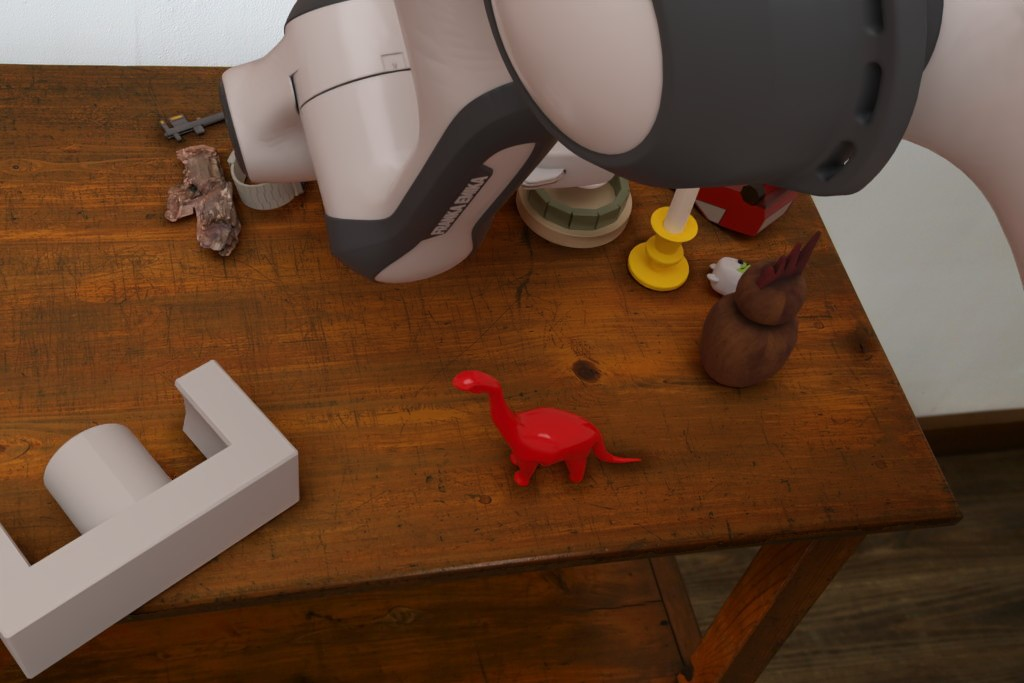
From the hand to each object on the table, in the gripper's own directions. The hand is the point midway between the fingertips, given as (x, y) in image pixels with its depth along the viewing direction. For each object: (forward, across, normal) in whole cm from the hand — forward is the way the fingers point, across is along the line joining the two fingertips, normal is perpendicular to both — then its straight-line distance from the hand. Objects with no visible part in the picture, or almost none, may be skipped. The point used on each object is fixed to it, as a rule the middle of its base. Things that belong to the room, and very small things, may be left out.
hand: (619, 63), depth 79 cm
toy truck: (+12, -3, +10) cm, 16 cm away
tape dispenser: (-42, -19, +15) cm, 48 cm away
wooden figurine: (+4, -20, +15) cm, 25 cm away
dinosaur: (-15, -23, +15) cm, 31 cm away
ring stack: (-1, 0, +15) cm, 15 cm away
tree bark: (-33, +9, +13) cm, 36 cm away
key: (-26, +20, +15) cm, 36 cm away
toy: (+15, -23, +13) cm, 31 cm away
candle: (+3, -9, +15) cm, 18 cm away
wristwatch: (-25, +10, +15) cm, 31 cm away
